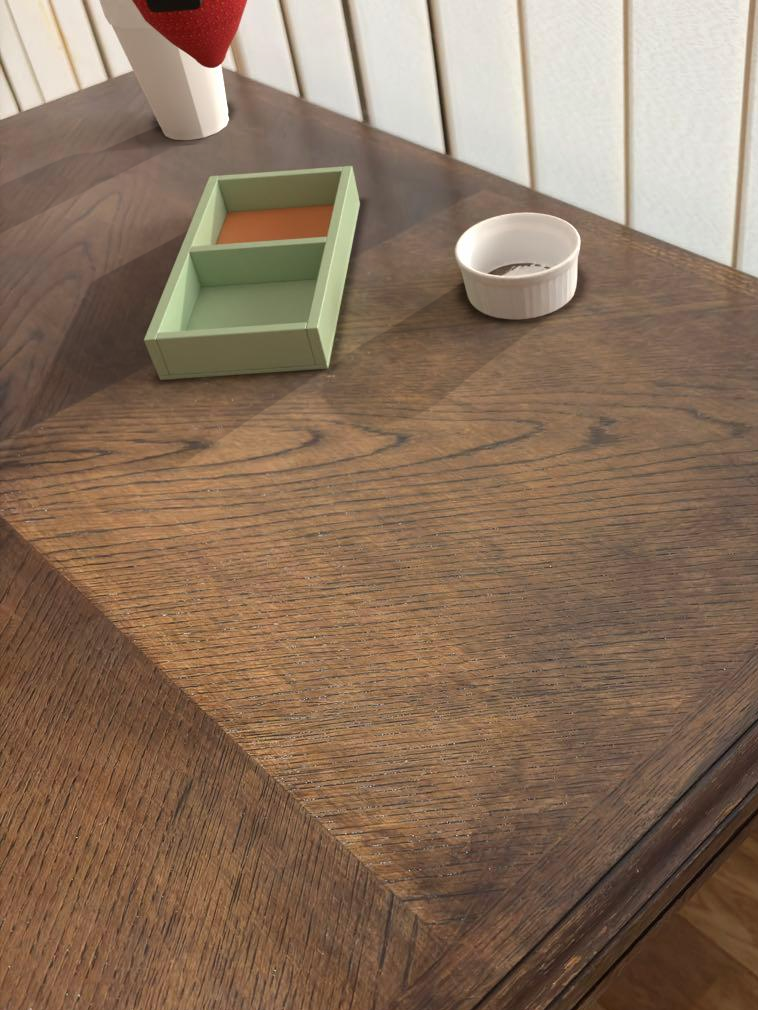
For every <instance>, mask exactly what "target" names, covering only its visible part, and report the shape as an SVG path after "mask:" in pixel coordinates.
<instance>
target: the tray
mask: <svg viewBox="0 0 758 1010" xmlns="http://www.w3.org/2000/svg"><path fill="white" fill-rule="evenodd" d="M197 204H198V205H197V207H196V209H195V212H194V215H193V216H192V219H191V222H190V224H189V227H188V229H187V232H186V234H185V236H184V239H183V242H182V244H181V247H180V249H179V252H178V254H177V256H176V259H175V261H174V264H173V267H172V269H171V272H170V274H169V275H168V279H167V281H166V283H165V286H164V289H163V291H162V294H161V296H160V298H159V301H158V303H157V307H156V309H155V310H154V313H153V316H152V318H151V321H150V323H149V326H148V328H147V331H146V333H145V336H144V339H143V343H144V344H145V347H146V349H147V352H148V355H149V357H150V360H151V362H152V364H153V366H154V369H155V372H156V375H157V376H158V378H159V380H160V381H162V380H163V381H165V380H177V379H193V378H208V377H221V376H222V377H223V376H235V375H237V376H238V375H239V376H240V375H251V374H266V373H267V374H268V373H281V372H295V371H296V372H297V371H311V370H321V369H322V370H324V369H329V367H330V362H331V357H332V352H333V351H332V350H333V347H334V340H335V335H336V332H337V325H338V320H339V315H340V309H341V305H342V299H343V295H344V288H345V283H346V279H347V273H348V268H349V264H350V263H349V262H350V259H351V258H350V257H351V252H352V247H353V243H354V237H355V232H356V227H357V222H358V216H359V212H360V211H359V210H360V206H361V202H360V196H359V191H358V187H357V182H356V177H355V172H354V168H353V165H345V166H344V165H343V166H333V167H317V168H306V169H305V168H303V169H292V170H279V171H276V170H275V171H265V172H250V173H249V172H248V173H239V174H238V173H237V174H236V173H235V174H223V175H211V176H209V177H208V179H207V182H206V184H205V186H204V190H203V192H202V195H201V197H200V199H199V202H198V203H197Z"/></svg>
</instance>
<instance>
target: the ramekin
mask: <svg viewBox="0 0 758 1010" xmlns="http://www.w3.org/2000/svg"><path fill="white" fill-rule="evenodd" d="M580 249H581V236H580V234H579V232H578V230H577V229H576V228H575V227H574V226H573V225H572V224H571V223H569V222H568V221H566V220H564V219H562V218H560V217H557V216H554V215H550V214H546V213H545V214H544V213H541V212H540V213H539V212H513V213H507V214H501V215H497V216H492V217H489V218H487V219H483V220H481V221H479V222H477V223H476V224H474V225H472V226H471V227H469V228H468V229H467V230H465V231H464V232H463V233H462V234H461V236H460V237H459V238H458V239H457V241H456V244H455V247H454V257H455V260H456V263H457V265H458V267H459V269H460V271H461V275H462V280H463V283H464V287H465V292H466V296H467V299H468V300H469V302H470V304H471V305H472V306H473V307H474V308H475V309H476V310H477V311H479V312H481V313H483V314H484V315H487V316H490V317H493V318H497V319H503V320H528V319H534V318H538V317H542V316H545V315H549V314H551V313H553V312H555V311H557V310H559V309H561V308H562V307H564V306H566V305H567V304H568V303H569V302H570V301H571V300H572V298H573V297H574V296H575V292H576V289H577V283H578V263H579V262H578V261H579V260H578V259H579V255H580ZM517 264H530V266H528V265H524V266H523V265H519V266H517V267H516V265H517ZM510 265H513V266H512V267H511V269H509V271H508V270H506V271H505V272H506V273H504V274H501V275H496V274H490V273H491V272H493V271H494V270H497V269H499V268H502V267H506V266H510ZM546 267H547V268H546ZM512 269H513V270H512Z"/></svg>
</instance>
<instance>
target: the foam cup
mask: <svg viewBox="0 0 758 1010" xmlns="http://www.w3.org/2000/svg"><path fill="white" fill-rule="evenodd" d="M99 3H100V7H101V9H102V12H103V16H104V18H105V19H106V21H107V22H108V24H109V25H110V26H111V27H112V30H113V31H114V34H115V35H116V37H117V40H118V42H119V44H120V46H121V48H122V50H123V53H124V54H125V56H126V59H127V60H128V63H129V64H130V67H131V69H132V71H133V73H134V75H135V77H136V79H137V81H138V84H139V86H140V88H141V90H142V92H143V94H144V96H145V98H146V101H147V102H148V105H149V107H150V109H151V111H152V112H153V115H154V117H155V119H156V121H157V123H158V124H159V125H158V126H159V127H160V129H161V131H162V134H164V137H166V138H169V139H172V140H174V141H194V140H199V139H205V138H207V137H210V136H212V135H215V134H218V133H219V132H220V131H221V130H223V129H224V128H226V127H227V126H228V123H229V121H230V118H229V108H228V102H227V95H226V88H225V81H224V75H223V68H222V64H220V65H219V66H218V67H215V68H207V67H204V66H202V65H201V64H199V63H198V62H197V61H196V60H195V59H194V58H192V57H191V56H190V55H188V54H187V53H185V52H184V51H182V50H181V49H179V48H178V47H176V46H175V45H173V44H172V43H171V42H170V41H168V40H167V39H166V38H165V37H164V36H163V35H161V34H160V33H159V32H158V31H157V30H155V29H154V28H153V27H152V26H151V25H150V24H148V23H147V22H146V21H145V19H144V18H143V16H142V15H141V13H140V12H139V10H138V9H137V7H136V6H135V4H134V2H133V1H132V0H99Z"/></svg>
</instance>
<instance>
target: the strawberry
mask: <svg viewBox="0 0 758 1010" xmlns="http://www.w3.org/2000/svg"><path fill="white" fill-rule="evenodd" d="M132 1H133V2H134V4H135V6H136V7H137V9H138V10H139V12H140V13H141V15H142V16H143V18H144V19H145V21H146V22H147V23H148V24H150V25H151V26H152V27H153V28H154V29H155V30H157V31H158V32H159V33H160V34H161V35H163V36H164V37H165V38H166V39H167V40H168V41H170V42H171V43H172V44H173V45H175V46H176V47H178V48H179V49H181V50H182V51H184V52H185V53H187V54H188V55H190V56H191V57H192V58H194V59H195V60H196V61H197V62H198V63H199V64H201V65H202V66H204V67H207V68H215V67H218V66H219V65H220V64H221V65H222V64H223V62H224V61H225V59H226V57H227V53H228V51H229V49H230V47H231V44H232V43H233V40H234V38H235V37H236V34H237V32H238V31H239V27H240V24H241V22H242V21H241V20H242V18H243V15H244V12H245V9H246V5H247V3H248V0H202V4H201V6H200V7H199V8H198V9H196V10H183V11H170V12H152V11H151V10H150V9H149V8H148V6H147V2H146V0H132Z"/></svg>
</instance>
